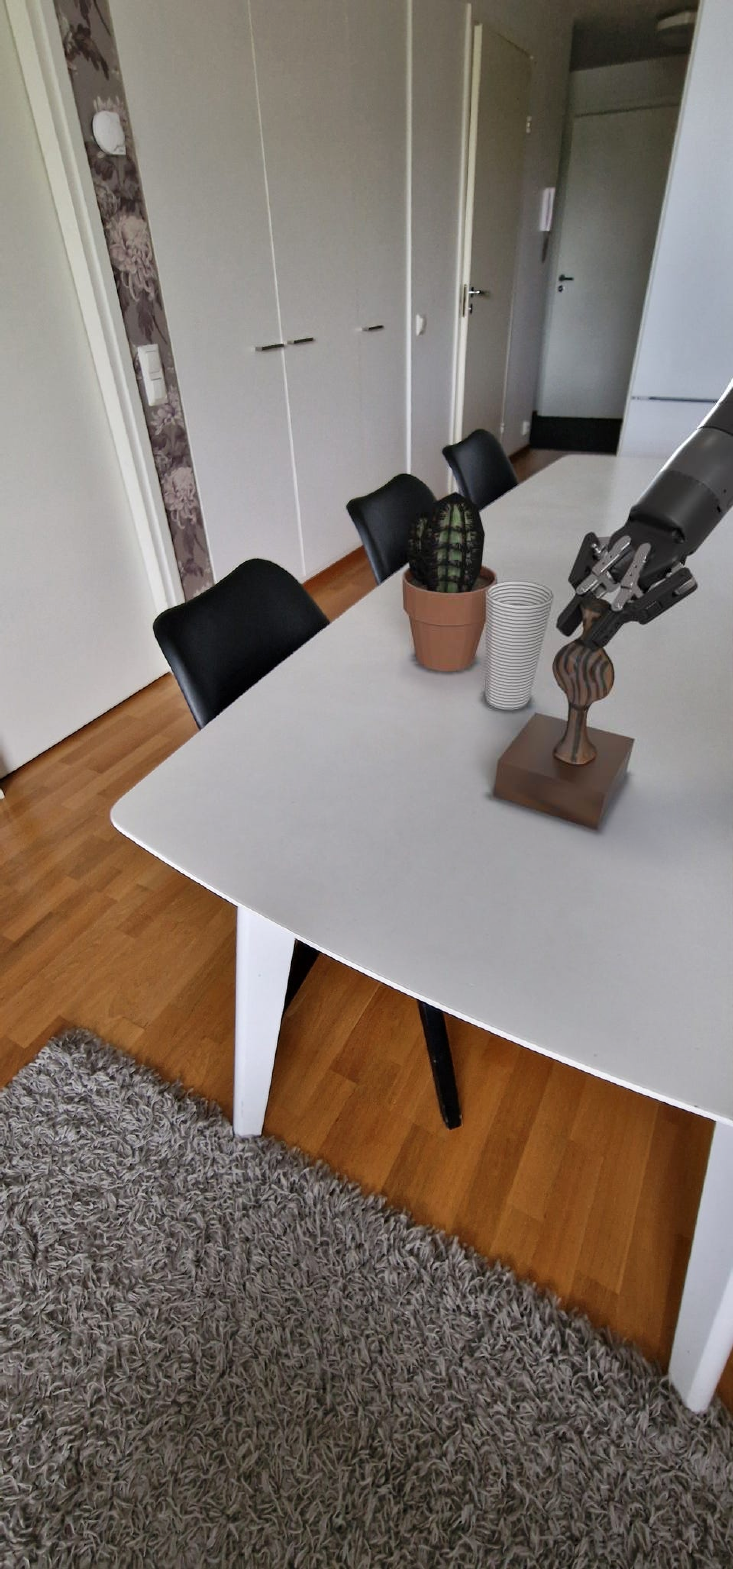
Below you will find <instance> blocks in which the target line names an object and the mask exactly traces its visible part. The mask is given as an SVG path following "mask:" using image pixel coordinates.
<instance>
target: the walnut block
mask: <svg viewBox="0 0 733 1569" xmlns="http://www.w3.org/2000/svg"><path fill="white" fill-rule="evenodd" d="M567 721H568V720H566V719H562V718H558V717H555V716H551V715H548V714H543V713H539V712H534V713H533V715H531V717H530V719H529V720H528V721H527V723H526V724H525V725H524V726H523V728H522V729H521V730H520V731H519V733H518V734H517V735H516V737H515V738H514V739H513V740H512V741H511V743H510V744H509V746H508V747H507V748H506V749H505V751H504V752H503V753H502V754H501V756H500V757H499V759H498V760H497V762H496V770H495V771H496V772H495V779H494V780H495V781H494V787H493V788H494V789H493V797H494V798H497V799H501V800H504V801H507V802H509V803H513V804H516V805H519V806H522V807H525V808H527V809H531V810H534V811H536V812H540V813H543V814H547V815H550V816H552V817H555V818H558V819H561V820H565V821H567V822H571V823H574V824H577V825H579V826H583V827H586V828H588V829H592V830H595V831H597V830H598V829H599V827H600V825H601V823H602V822H603V819H604V817H605V815H606V813H607V811H608V809H609V808H610V806H611V804H612V801H613V799H614V798H615V796H616V794H617V792H618V791H619V788H620V787H621V784H622V782H623V780H624V778H625V776H626V774H627V771H628V767H629V763H630V759H631V756H632V752H633V748H634V744H635V738H633V737H630V736H626V735H623V734H622V735H621V734H618V733H615V732H610V731H606V730H603V729H599V728H595V727H593V726H588V725H586V731H587V736H588V740H589V741H590V743H592V744H593V745H594V746H595V748H596V752H597V754H596V756H595V757H594V758H593V759H591V760H589V761H588V762H586V763H584V764H583V763H582V764H571V763H568V762H566V761H563V760H561V759H559V758H557V757H556V756H555V755H554V753H553V750H554V747H555V746H556V745H557V743H558V742H559V741H560V740H561V739H562V737H563V736H564V734H565V731H566V727H567Z"/></svg>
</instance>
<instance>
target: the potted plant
mask: <svg viewBox="0 0 733 1569" xmlns="http://www.w3.org/2000/svg"><path fill="white" fill-rule="evenodd" d="M406 532H407V533H406V538H405V540H406V541H405V546H404V547H405V551H406V556H407V562H408V568H407V569H405V570H404V571H403V572H402V577H401V578H402V580H401V581H402V604H403V605H402V608H403V611H404V612H405V613H406V615H407V616H408V621H409V625H410V626H409V627H410V631H411V636H412V637H411V638H412V642H413V648H414V652H415V659H416V660H417V663H418V664H420V665H421V666H422V667H424V668H426V669H428V670H431V671H437V672H457V671H461V670H463V669H466V668H468V667H469V666H471V665H472V664H473V662H474V661H475V657H476V654H477V651H478V649H479V648H478V647H479V645H480V641H481V638H482V635H483V631H484V628H485V626H486V590H487V589H488V588H489V587H490V586H491V585H494V584H496V583H498V574H497V573H496V572H495V571H493V569H492V568H490V567H489V566H485V565H483V557H484V547H485V539H486V538H485V537H486V533H485V529H484V525H483V521H482V516H481V514H480V509H479V507H478V504H476V503H475V502H473V501H472V500H470V499H468V498H467V497H466V496H464V495H462V494H460V493H459V492H458V491H454V492H452V493H450V494H447V495H445V496H444V497H442V498H440V499H438V500H436V501H435V502H434V504H433V505H431V508H430V510H429V511H426V510H424V509H422V510H421V511H420V512H419V513H417V514H416V515H415V516H414V517H413V518H411V519H410V520H409V523H408V527H407V531H406Z"/></svg>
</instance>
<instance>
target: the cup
mask: <svg viewBox="0 0 733 1569" xmlns="http://www.w3.org/2000/svg"><path fill="white" fill-rule="evenodd" d="M554 597H555V596H554V593H553V591H552V590H551V589H549V588H548V587H547V586H546V585H542V584H539V583H536V582H533V581H532V582H531V581H525V580H507V581H500V582H497V583H496V584H494V585H491V586H490V587H489V588H488V589H487V590H486V622H485V679H484V680H485V685H484V686H485V687H484V688H485V692H484V693H485V694H484V695H485V700H486V702H487V703H488V704H489V705H490V706H492V707H495V708H497V709H502V710H517V709H521V708H523V707H525V706H527V704H528V703H529V701H530V697H531V694H532V688H533V685H534V681H535V676H536V673H537V668H538V663H539V659H540V655H541V651H542V647H543V643H544V638H545V635H546V630H547V626H548V623H549V622H548V621H549V618H550V614H551V609H552V605H553V602H554Z"/></svg>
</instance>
